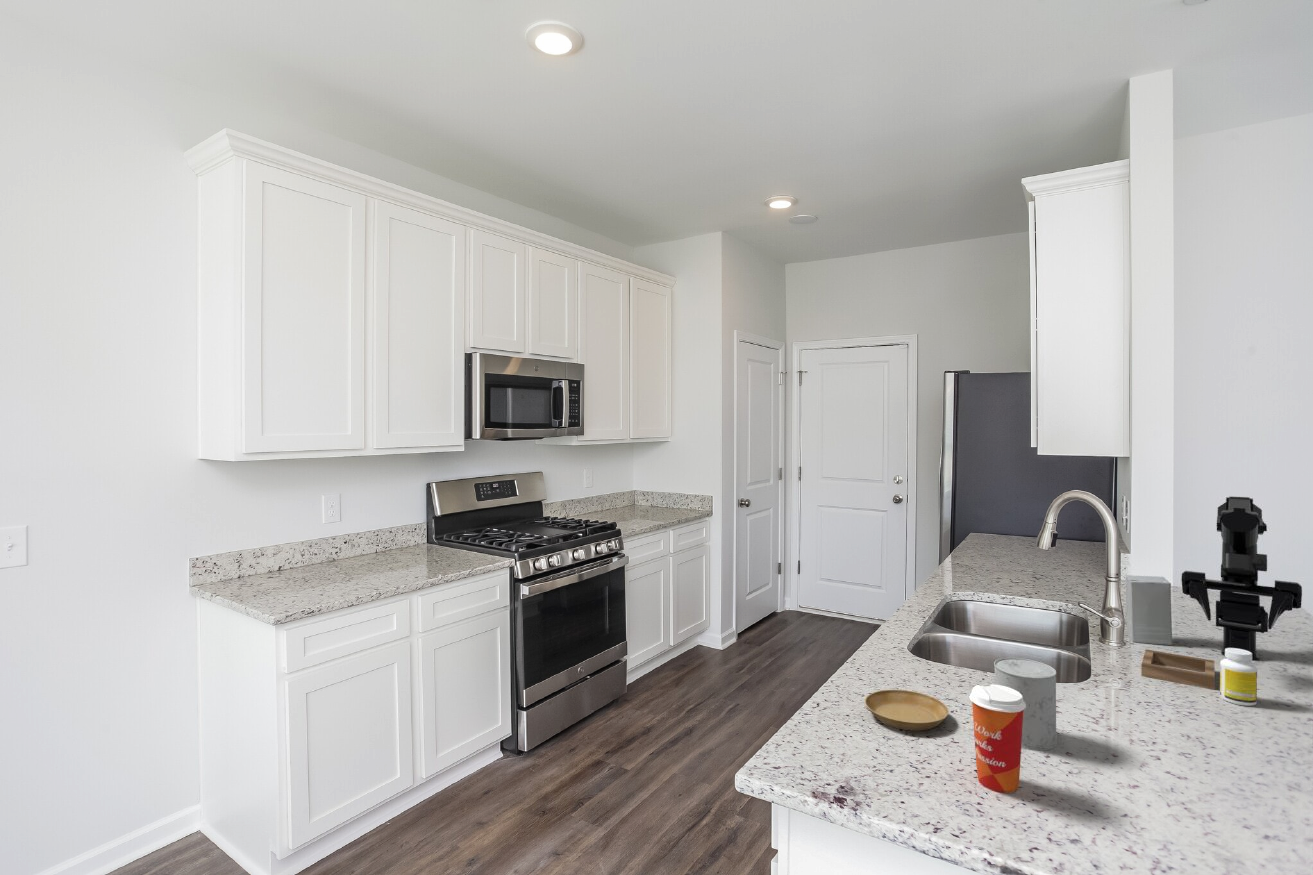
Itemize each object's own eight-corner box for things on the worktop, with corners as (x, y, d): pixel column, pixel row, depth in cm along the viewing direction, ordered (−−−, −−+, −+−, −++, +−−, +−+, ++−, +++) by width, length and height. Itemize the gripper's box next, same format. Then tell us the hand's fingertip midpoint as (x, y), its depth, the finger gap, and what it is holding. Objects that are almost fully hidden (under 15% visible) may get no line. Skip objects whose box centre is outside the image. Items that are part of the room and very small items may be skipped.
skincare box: (1165, 638, 165) (1164, 575, 164) (1173, 647, 158) (1173, 582, 158) (1124, 634, 168) (1124, 573, 168) (1131, 643, 162) (1130, 579, 161)
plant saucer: (849, 717, 125) (849, 703, 124) (890, 695, 134) (890, 682, 134) (923, 745, 113) (923, 730, 113) (963, 719, 123) (963, 705, 123)
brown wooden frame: (1145, 659, 150) (1145, 649, 150) (1214, 672, 143) (1214, 660, 143) (1141, 675, 141) (1141, 664, 141) (1214, 689, 133) (1214, 677, 133)
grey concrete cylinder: (1049, 728, 118) (1049, 660, 118) (1063, 753, 109) (1062, 680, 109) (990, 721, 121) (990, 655, 121) (999, 745, 112) (998, 674, 112)
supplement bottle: (1264, 707, 125) (1264, 656, 125) (1231, 705, 126) (1231, 655, 126) (1244, 696, 130) (1244, 647, 130) (1213, 694, 131) (1213, 645, 131)
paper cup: (960, 771, 104) (959, 683, 104) (1006, 768, 105) (1005, 681, 105) (989, 799, 96) (988, 704, 96) (1038, 795, 97) (1038, 701, 97)
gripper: (1182, 533, 143) (1178, 594, 135) (1301, 543, 131) (1304, 610, 123) (1184, 563, 149) (1181, 623, 141) (1299, 575, 137) (1302, 641, 129)
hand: (1238, 623), depth 134 cm, fingers open, 9 cm apart
